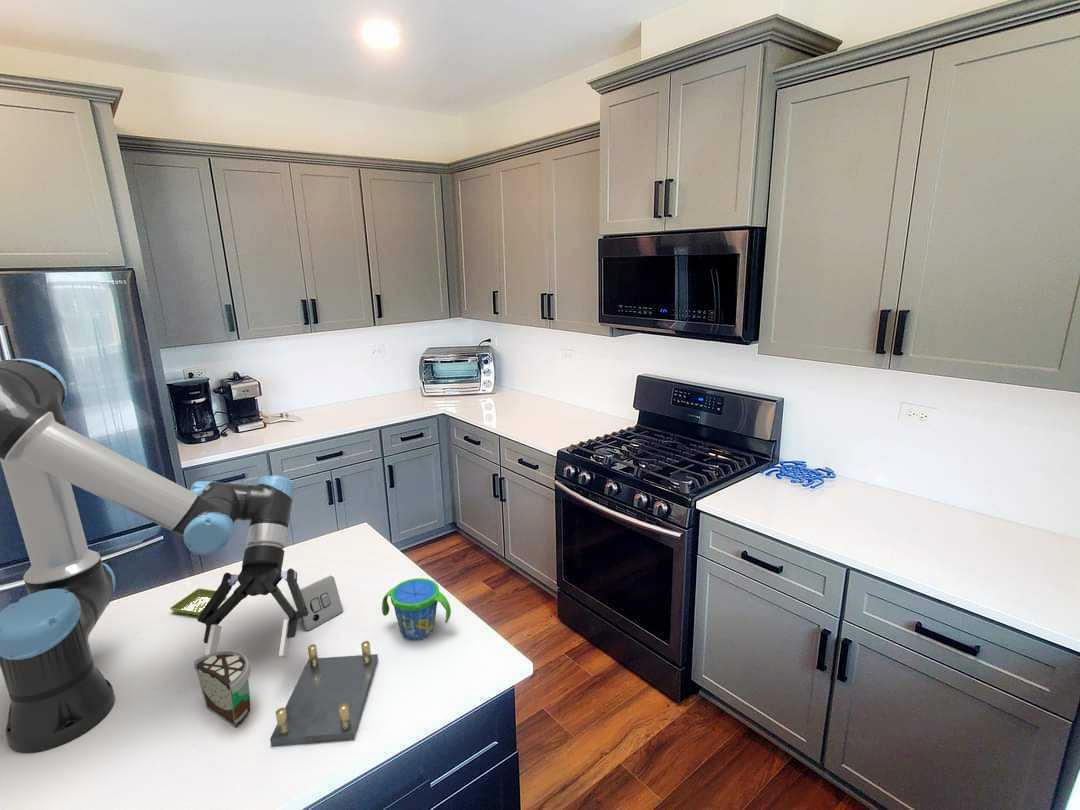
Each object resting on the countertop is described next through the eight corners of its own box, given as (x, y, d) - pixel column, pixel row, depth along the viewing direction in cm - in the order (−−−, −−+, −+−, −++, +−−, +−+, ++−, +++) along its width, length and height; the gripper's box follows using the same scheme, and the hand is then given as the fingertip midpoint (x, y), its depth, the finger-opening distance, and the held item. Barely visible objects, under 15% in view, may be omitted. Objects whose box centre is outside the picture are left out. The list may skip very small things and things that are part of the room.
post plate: (271, 746, 95) (266, 719, 94) (309, 664, 114) (306, 642, 113) (354, 739, 96) (350, 713, 95) (378, 660, 115) (375, 637, 114)
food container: (272, 707, 103) (263, 662, 101) (240, 731, 98) (231, 684, 96) (233, 683, 110) (225, 640, 107) (202, 704, 104) (192, 660, 102)
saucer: (170, 615, 132) (168, 608, 132) (199, 595, 141) (198, 587, 140) (200, 620, 130) (198, 612, 130) (228, 599, 139) (227, 592, 138)
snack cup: (459, 622, 127) (457, 583, 125) (438, 652, 117) (435, 610, 115) (400, 611, 132) (396, 573, 129) (374, 639, 122) (370, 598, 120)
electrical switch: (307, 632, 125) (299, 595, 123) (295, 625, 128) (288, 589, 126) (344, 612, 132) (337, 576, 130) (332, 606, 135) (326, 571, 133)
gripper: (331, 549, 120) (319, 656, 109) (211, 557, 118) (187, 666, 107) (321, 539, 113) (307, 651, 103) (194, 547, 112) (167, 662, 101)
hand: (246, 659), depth 105 cm, fingers open, 13 cm apart
